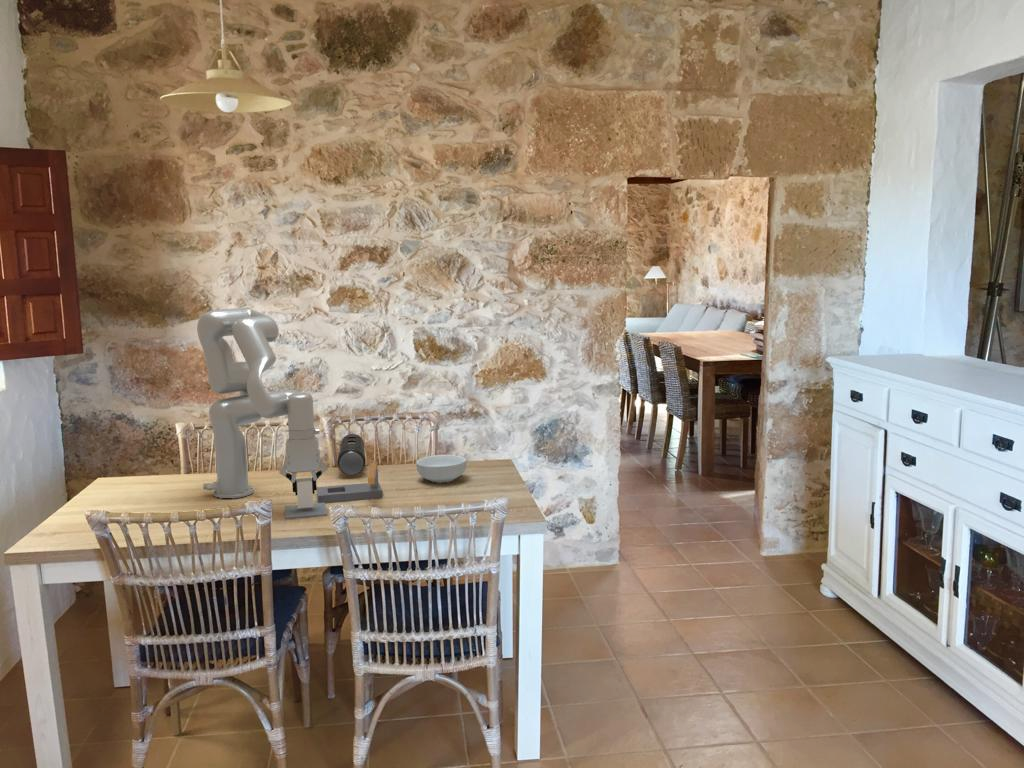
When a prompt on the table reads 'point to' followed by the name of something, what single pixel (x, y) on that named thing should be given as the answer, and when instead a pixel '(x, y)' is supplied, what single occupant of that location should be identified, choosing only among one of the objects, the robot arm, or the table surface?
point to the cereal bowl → (441, 467)
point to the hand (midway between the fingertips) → (304, 492)
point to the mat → (305, 511)
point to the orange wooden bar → (372, 472)
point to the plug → (304, 492)
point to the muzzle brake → (351, 455)
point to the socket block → (349, 492)
